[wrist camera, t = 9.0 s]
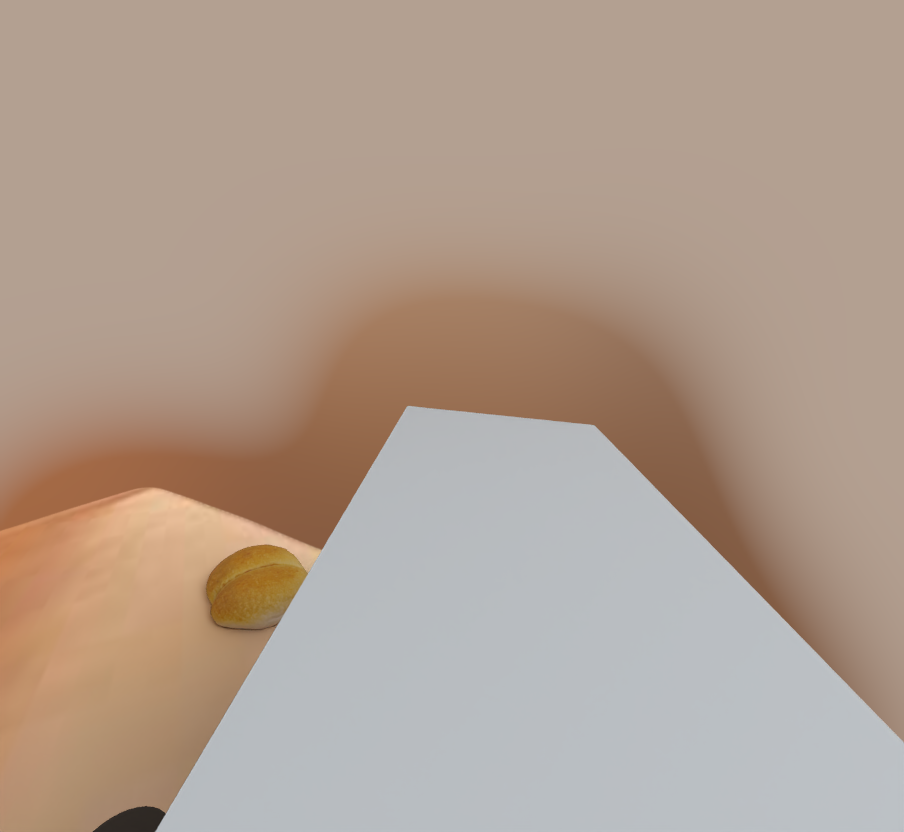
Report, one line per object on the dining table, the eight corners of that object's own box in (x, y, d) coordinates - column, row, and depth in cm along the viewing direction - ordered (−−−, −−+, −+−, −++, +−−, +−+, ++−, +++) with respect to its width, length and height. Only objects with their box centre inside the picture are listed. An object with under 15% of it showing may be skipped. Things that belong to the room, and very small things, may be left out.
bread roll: (217, 650, 34) (215, 606, 33) (203, 584, 41) (200, 545, 40) (323, 614, 39) (324, 575, 38) (294, 560, 46) (294, 526, 45)
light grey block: (227, 1619, 6) (120, 889, 2) (379, 792, 15) (407, 406, 12) (609, 1675, 6) (1170, 1017, 2) (522, 809, 15) (594, 425, 12)
